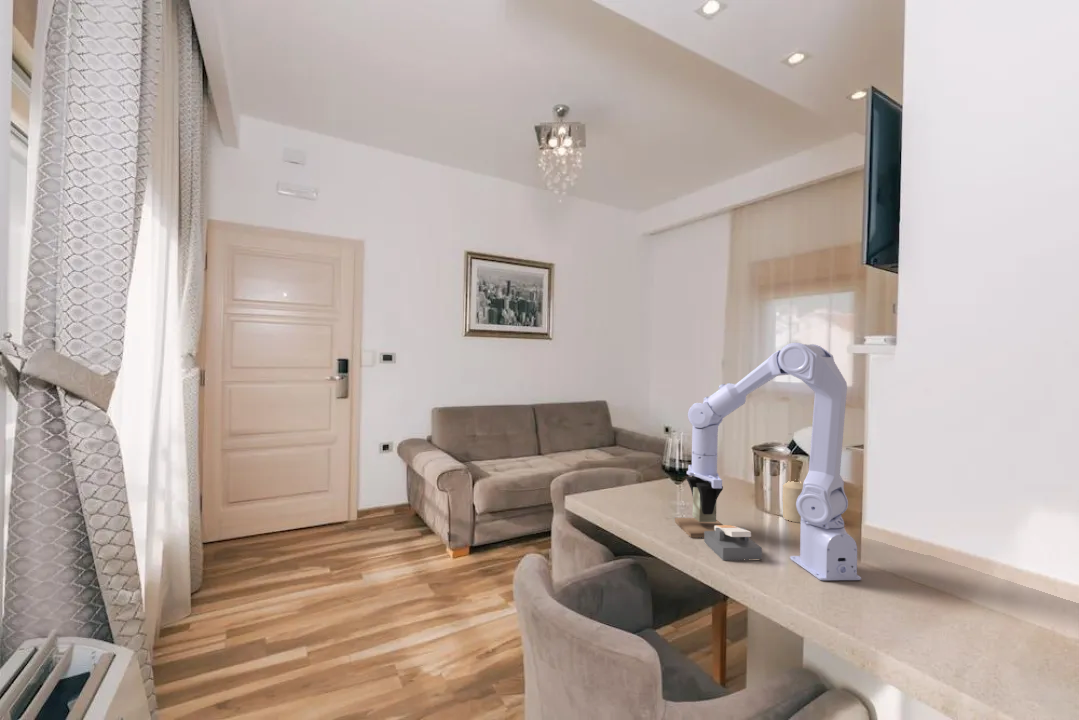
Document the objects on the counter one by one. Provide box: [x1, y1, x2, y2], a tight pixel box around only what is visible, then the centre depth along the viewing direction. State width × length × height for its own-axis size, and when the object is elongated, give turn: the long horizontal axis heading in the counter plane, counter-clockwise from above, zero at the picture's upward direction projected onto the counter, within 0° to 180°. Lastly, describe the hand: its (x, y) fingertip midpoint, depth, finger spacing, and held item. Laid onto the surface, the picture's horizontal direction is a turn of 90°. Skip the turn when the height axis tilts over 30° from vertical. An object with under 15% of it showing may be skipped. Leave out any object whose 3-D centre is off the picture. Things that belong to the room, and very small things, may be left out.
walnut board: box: [674, 517, 724, 539], centre depth 107 cm, size 10×10×1 cm
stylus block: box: [692, 487, 718, 522], centre depth 107 cm, size 4×4×7 cm
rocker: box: [714, 524, 752, 538], centre depth 95 cm, size 8×4×1 cm, turn 3°
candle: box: [782, 480, 804, 524], centre depth 116 cm, size 6×6×10 cm
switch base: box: [703, 527, 763, 561], centre depth 95 cm, size 9×8×4 cm
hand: (703, 510), depth 107 cm, fingers closed on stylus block, 4 cm apart
